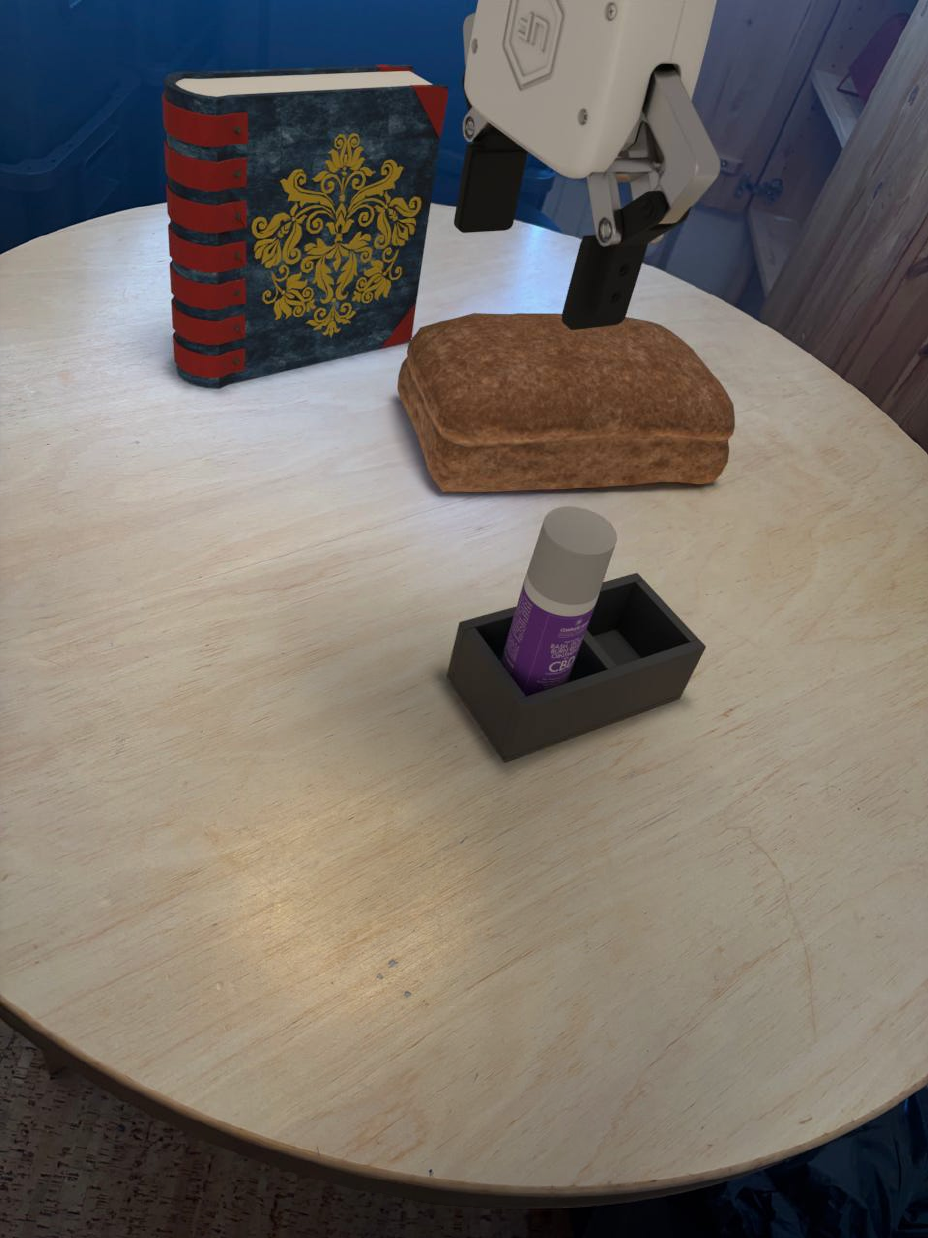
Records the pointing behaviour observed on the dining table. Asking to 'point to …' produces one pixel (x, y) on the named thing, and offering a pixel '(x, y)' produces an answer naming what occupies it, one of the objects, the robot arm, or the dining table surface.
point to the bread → (562, 404)
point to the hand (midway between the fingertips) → (533, 273)
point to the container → (558, 597)
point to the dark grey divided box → (577, 670)
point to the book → (295, 213)
